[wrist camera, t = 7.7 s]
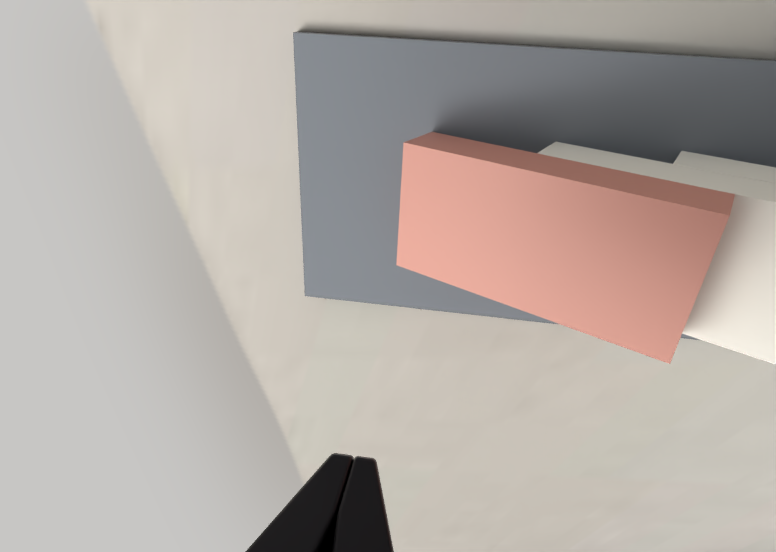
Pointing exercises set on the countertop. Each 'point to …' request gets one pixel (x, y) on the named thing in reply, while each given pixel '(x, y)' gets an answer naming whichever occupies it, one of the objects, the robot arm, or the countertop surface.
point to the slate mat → (488, 135)
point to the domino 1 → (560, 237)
